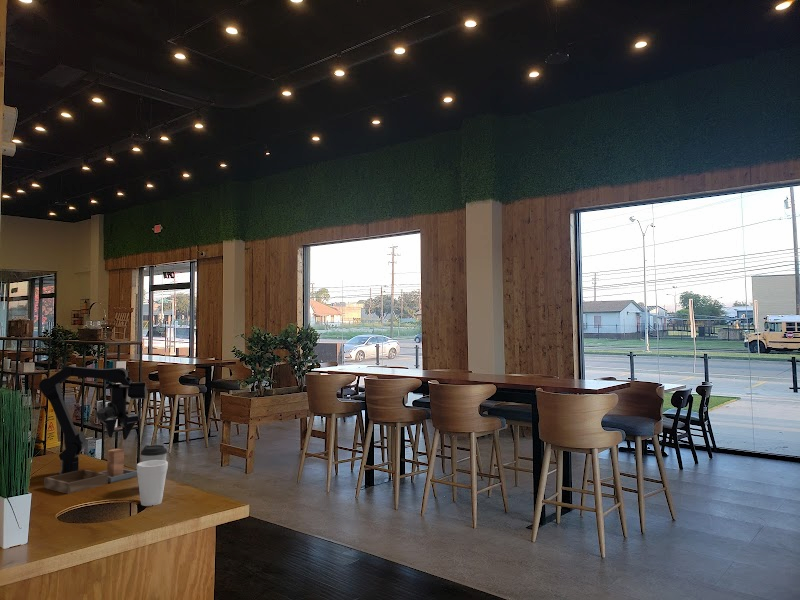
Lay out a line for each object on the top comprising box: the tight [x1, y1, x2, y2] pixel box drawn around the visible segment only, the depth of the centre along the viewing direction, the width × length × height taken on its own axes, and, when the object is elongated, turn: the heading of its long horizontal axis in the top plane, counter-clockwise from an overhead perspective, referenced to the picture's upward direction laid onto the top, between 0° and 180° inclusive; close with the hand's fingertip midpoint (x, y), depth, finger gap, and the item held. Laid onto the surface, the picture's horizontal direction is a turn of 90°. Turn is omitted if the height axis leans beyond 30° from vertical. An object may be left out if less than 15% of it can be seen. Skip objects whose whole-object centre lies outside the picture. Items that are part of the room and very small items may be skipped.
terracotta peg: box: [106, 448, 125, 477], centre depth 222 cm, size 4×4×10 cm
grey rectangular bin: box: [99, 468, 138, 484], centre depth 222 cm, size 11×11×2 cm
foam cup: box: [136, 460, 169, 507], centre depth 193 cm, size 10×9×13 cm
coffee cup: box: [140, 444, 168, 462], centre depth 211 cm, size 9×9×15 cm
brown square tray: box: [43, 468, 108, 495], centre depth 210 cm, size 15×15×4 cm
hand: (117, 438), depth 234 cm, fingers open, 9 cm apart
